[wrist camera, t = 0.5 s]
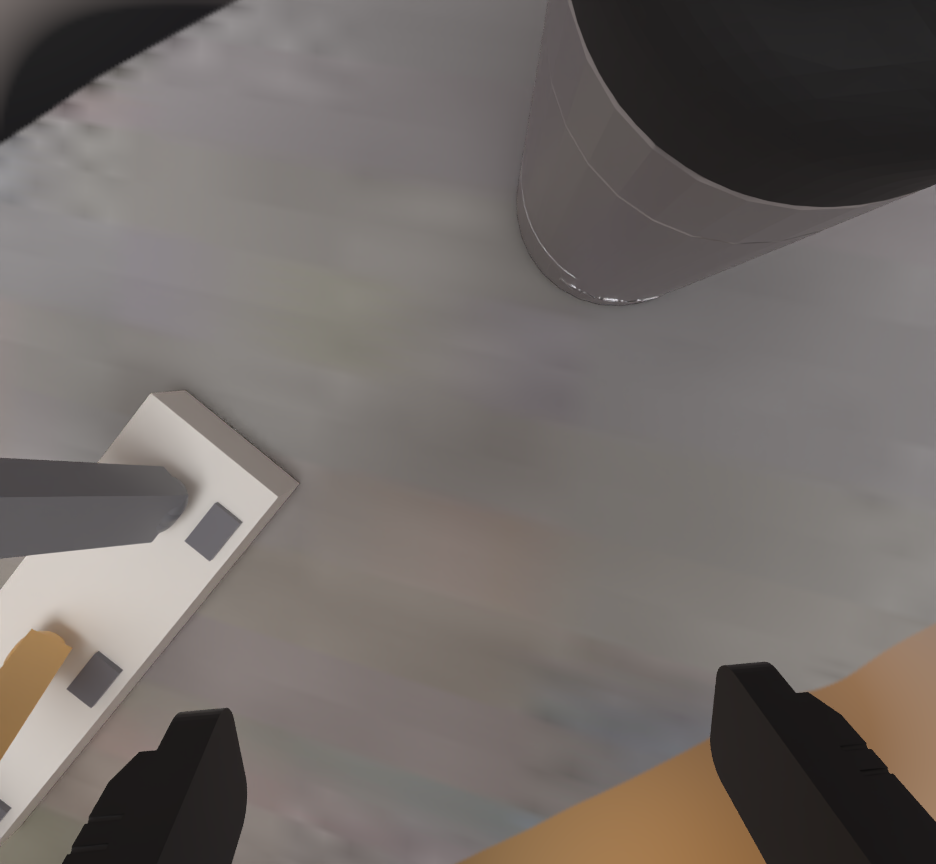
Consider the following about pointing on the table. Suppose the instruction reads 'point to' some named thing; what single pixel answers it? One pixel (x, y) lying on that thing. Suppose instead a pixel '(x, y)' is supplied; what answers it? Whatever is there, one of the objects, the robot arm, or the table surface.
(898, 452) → the table surface
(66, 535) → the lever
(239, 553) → the lever base
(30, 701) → the lever middle
